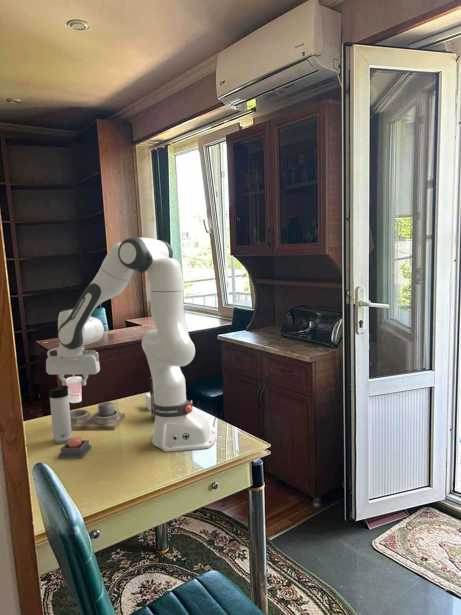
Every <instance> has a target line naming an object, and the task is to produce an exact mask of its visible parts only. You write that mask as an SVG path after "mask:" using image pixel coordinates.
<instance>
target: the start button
mask: <svg viewBox="0 0 461 615" xmlns="http://www.w3.org/2000/svg"><path fill="white" fill-rule="evenodd" d="M82 440H83V439H82V438H81V437H80V436H75V437H74V436H73V437H72V438H70V439H69V440H68V448H79V447H80V446H81V445H82Z"/></svg>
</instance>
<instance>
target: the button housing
mask: <svg viewBox="0 0 461 615" xmlns="http://www.w3.org/2000/svg"><path fill="white" fill-rule="evenodd" d="M81 440H82V445H81V446H80V447H79V448H68V442H67V443H64V445H63V446H62V447H61V448H60V454H59V455H58V458H59V459H83V458H84V457H85V456H86V455H87V454H88V452H90V450H91V449H92V444H90V442H89V439H81Z"/></svg>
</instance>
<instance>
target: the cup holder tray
mask: <svg viewBox="0 0 461 615" xmlns="http://www.w3.org/2000/svg"><path fill="white" fill-rule="evenodd" d="M97 408H98V410H97V411H96V412H95V413H91V411H90V410H88V409H86V408H84V409H81V408H80V409H73V410H70V419H71V430H72V431H97V430H98V431H105V430H106V431H107V430H109V431H114V430H116V429H117V428H118V427H119V425H120V424H121V423H122V421H123V420H124V419H125V418H126V416H125V415H126V413H120V410H117V409H116V408H115V402H112V401H111V402H110V401H106V402H105V401H104V402H102V403H99V404H98V405H97Z"/></svg>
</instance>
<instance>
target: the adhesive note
mask: <svg viewBox="0 0 461 615" xmlns="http://www.w3.org/2000/svg"><path fill="white" fill-rule="evenodd" d="M145 401H146V402H145V405H146V408H147V410H149V412H151V398H150V392H149V393H145Z"/></svg>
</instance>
